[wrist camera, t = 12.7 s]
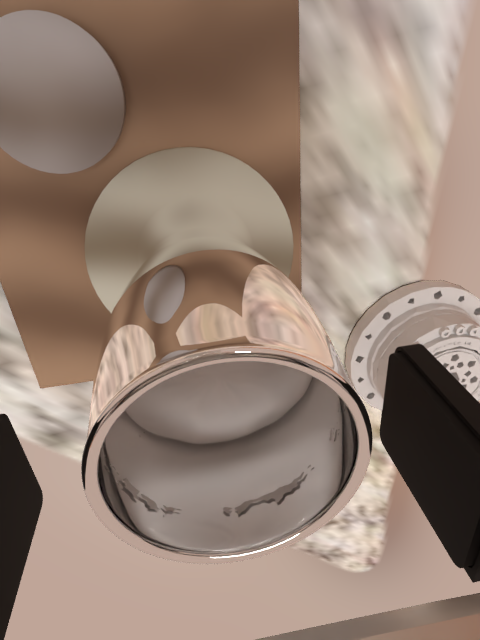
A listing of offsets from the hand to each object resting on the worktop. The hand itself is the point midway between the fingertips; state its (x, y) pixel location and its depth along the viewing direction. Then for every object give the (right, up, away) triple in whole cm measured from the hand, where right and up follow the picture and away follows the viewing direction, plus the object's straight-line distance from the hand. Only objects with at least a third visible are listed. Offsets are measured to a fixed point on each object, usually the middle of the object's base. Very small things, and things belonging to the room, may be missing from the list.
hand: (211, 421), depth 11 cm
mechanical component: (+13, +1, +19) cm, 23 cm away
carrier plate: (-4, +9, +12) cm, 15 cm away
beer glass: (-2, +6, +12) cm, 14 cm away
